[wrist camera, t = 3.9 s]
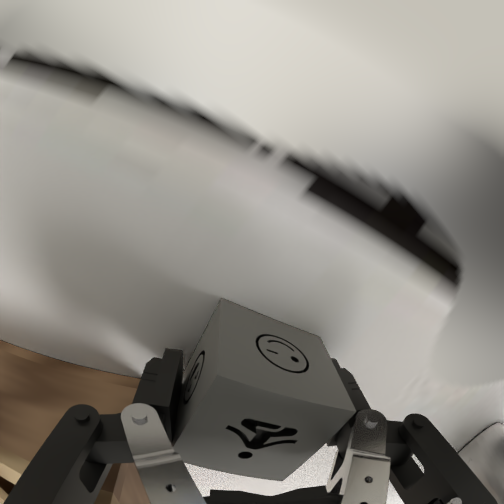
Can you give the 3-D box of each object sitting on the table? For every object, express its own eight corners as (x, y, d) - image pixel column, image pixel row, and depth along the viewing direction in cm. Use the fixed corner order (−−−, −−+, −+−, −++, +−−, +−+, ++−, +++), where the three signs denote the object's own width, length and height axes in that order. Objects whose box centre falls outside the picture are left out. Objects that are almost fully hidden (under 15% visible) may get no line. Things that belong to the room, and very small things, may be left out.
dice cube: (319, 337, 13) (356, 411, 8) (269, 406, 14) (282, 481, 9) (221, 297, 12) (217, 374, 7) (181, 377, 13) (166, 457, 8)
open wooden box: (147, 379, 13) (109, 509, 6) (166, 491, 17) (159, 565, 9) (-29, 327, 12) (-92, 387, 4) (28, 449, 16) (2, 505, 8)
